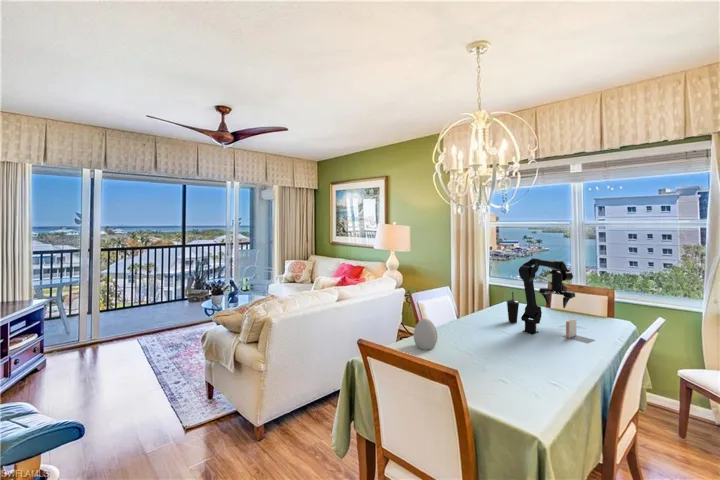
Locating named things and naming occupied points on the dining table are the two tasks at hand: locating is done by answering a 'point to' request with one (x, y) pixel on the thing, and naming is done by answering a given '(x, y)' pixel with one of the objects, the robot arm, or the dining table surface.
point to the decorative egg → (425, 335)
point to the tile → (571, 328)
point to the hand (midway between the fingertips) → (556, 306)
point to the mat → (581, 339)
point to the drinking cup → (512, 310)
